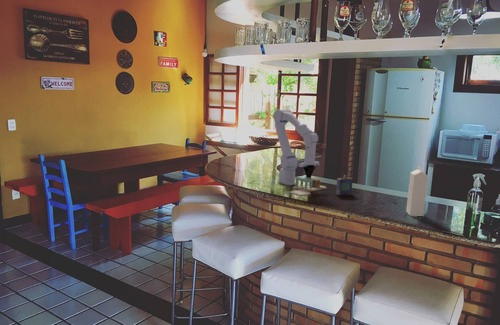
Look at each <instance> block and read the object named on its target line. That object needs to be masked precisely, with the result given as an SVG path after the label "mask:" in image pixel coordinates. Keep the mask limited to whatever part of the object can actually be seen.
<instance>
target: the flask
mask: <svg viewBox="0 0 500 325" xmlns="http://www.w3.org/2000/svg"><path fill="white" fill-rule="evenodd" d="M353 180H354V179H353V178H352V177H349V176H346V174H343V176H342V177H341V178H340V177H339V178H337V179H336V189H335V196H340V197H341V196H351V195H352V190H353Z"/></svg>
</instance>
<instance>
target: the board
mask: <svg viewBox="0 0 500 325" xmlns="http://www.w3.org/2000/svg"><path fill="white" fill-rule="evenodd" d="M292 187H293V188H294V190H303V191H306V192H309V193H311V192H314V191H321V190H326V189H327V186H325V185H321V184H320V187H316V188H314V187H312V188H310V183H308V184H307V189H305V184H303V186H300V185H298V187H296V186H292ZM293 188H292V189H293Z"/></svg>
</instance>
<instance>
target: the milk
mask: <svg viewBox="0 0 500 325" xmlns="http://www.w3.org/2000/svg"><path fill="white" fill-rule="evenodd" d="M409 174H410V175H409V182H408V192H407V201H406V210H405V212H407V213H408V214H409V215H410V216H409V217H417V216H423V217H424V215H425V208H426V207H425V206H426V199H427V198H426V197H427V189H428V181H429V175H428V174H427V173H425V172H423V168H422V167H421V166H419V165H418V166H417V169H415V170H413V171H410V173H409ZM407 213H406V214H407ZM408 214H407V215H408Z"/></svg>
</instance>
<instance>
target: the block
mask: <svg viewBox="0 0 500 325" xmlns="http://www.w3.org/2000/svg"><path fill="white" fill-rule="evenodd" d="M312 179H313V183H312V187H314V188H316V187H320V185H321V184H320V183H321V179H319V178H312Z"/></svg>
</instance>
